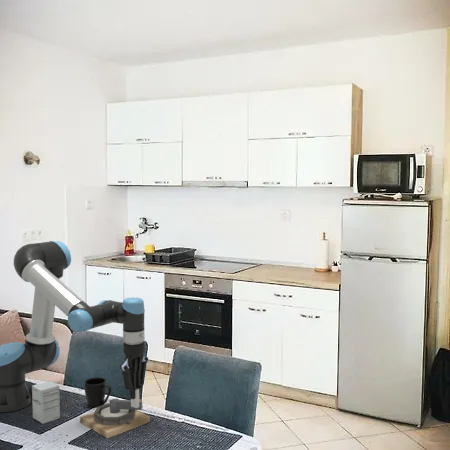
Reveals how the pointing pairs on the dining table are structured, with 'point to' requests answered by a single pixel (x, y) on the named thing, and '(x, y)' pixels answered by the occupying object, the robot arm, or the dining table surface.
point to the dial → (119, 408)
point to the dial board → (114, 428)
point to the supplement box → (45, 402)
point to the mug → (96, 391)
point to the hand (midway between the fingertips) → (135, 406)
